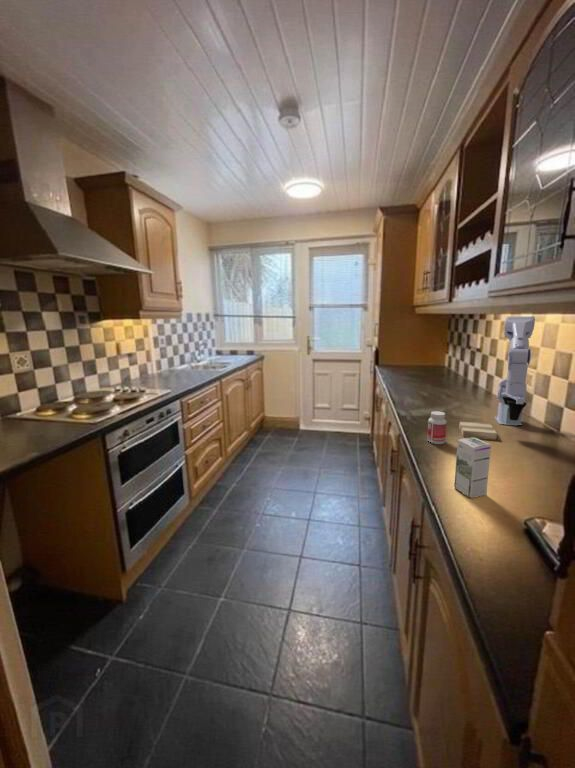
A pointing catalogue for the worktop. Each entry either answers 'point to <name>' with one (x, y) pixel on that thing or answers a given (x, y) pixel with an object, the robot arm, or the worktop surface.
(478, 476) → the syrup box
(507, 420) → the blue block
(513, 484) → the worktop surface
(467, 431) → the birch base
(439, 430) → the pill bottle
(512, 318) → the robot arm
